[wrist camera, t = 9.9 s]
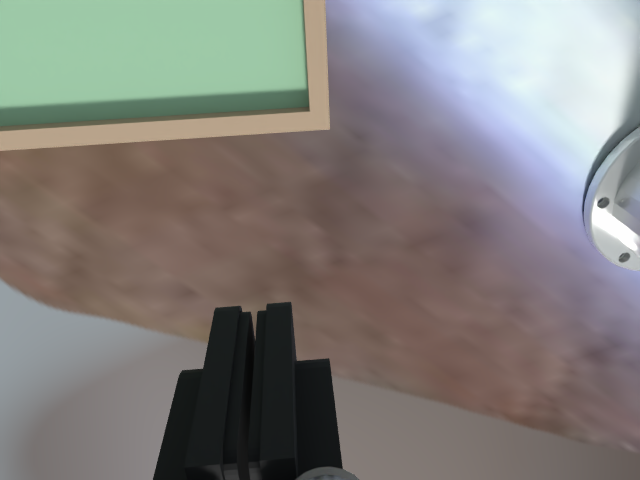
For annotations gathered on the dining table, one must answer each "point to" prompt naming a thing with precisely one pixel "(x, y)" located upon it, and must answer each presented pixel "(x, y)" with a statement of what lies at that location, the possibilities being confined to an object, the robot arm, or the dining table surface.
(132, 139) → the putting tray
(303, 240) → the dining table surface
